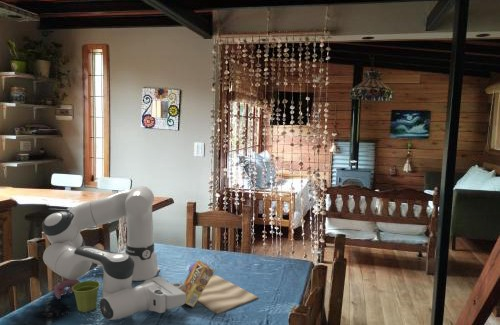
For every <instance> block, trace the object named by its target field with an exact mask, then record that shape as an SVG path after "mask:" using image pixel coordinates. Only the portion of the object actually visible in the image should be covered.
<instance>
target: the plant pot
mask: <svg viewBox="0 0 500 325" xmlns="http://www.w3.org/2000/svg"><path fill="white" fill-rule="evenodd" d="M79 282H80V281H79ZM100 287H101V283H100V282H99V281H97V280H84V281H81V282H80V283H77V284H75V285H74V286H73V287H72V290H73V291H74V293H73V294H74V297H75V303H76V308H77V311H78V310H79V311H78V312H81V311H82V312H81V313H88V312H87V311H89V312H92V311H93V310H95V309H96V308H97V301H98V300H97V299H98V292H99V289H100ZM91 310H92V311H91Z"/></svg>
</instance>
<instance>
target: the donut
mask: <svg viewBox="0 0 500 325" xmlns="http://www.w3.org/2000/svg"><path fill="white" fill-rule="evenodd" d="M203 263H204V264H206V265H207V266H209V267H210V265H209V264H208V263H206V262H203ZM195 264H196V263H192V264H190V265H189V267H188V268H189V269H188V272H189V273H190V272H191V270H192V269H193V267H194V266H195Z"/></svg>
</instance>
